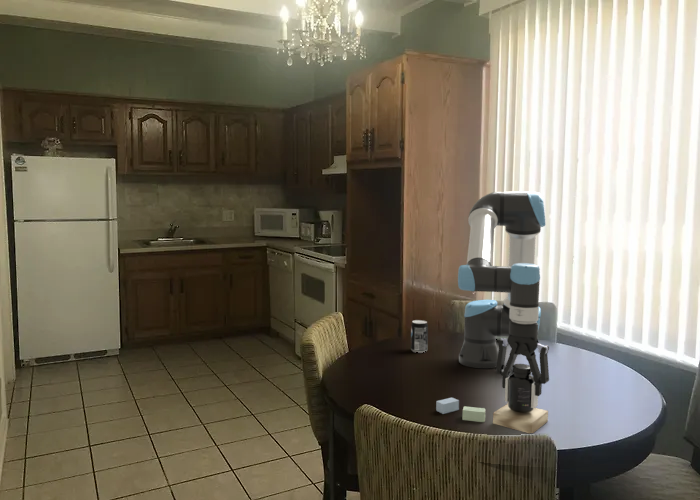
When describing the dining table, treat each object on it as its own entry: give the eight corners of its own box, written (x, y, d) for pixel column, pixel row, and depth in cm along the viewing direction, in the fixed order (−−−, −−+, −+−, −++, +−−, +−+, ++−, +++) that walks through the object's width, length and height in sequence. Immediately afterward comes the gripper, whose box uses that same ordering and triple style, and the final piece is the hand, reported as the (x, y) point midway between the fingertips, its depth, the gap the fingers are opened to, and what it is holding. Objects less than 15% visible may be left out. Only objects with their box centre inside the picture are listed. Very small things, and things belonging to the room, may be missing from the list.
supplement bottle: (504, 404, 160) (505, 362, 159) (527, 403, 161) (529, 362, 160) (513, 413, 153) (514, 370, 152) (537, 413, 154) (539, 369, 153)
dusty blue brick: (443, 414, 163) (443, 404, 163) (436, 411, 166) (436, 401, 166) (458, 410, 167) (458, 400, 166) (451, 407, 169) (452, 397, 169)
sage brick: (462, 420, 159) (462, 410, 159) (463, 416, 162) (463, 406, 162) (484, 422, 158) (484, 412, 157) (485, 418, 160) (485, 408, 160)
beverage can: (415, 348, 234) (416, 319, 233) (430, 350, 230) (430, 321, 229) (407, 351, 228) (408, 322, 227) (422, 354, 225) (422, 324, 223)
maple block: (492, 423, 157) (493, 412, 156) (510, 411, 165) (510, 401, 165) (531, 434, 150) (532, 423, 149) (547, 421, 158) (548, 410, 158)
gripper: (483, 318, 158) (481, 398, 160) (554, 328, 145) (551, 416, 148) (495, 313, 164) (493, 391, 166) (565, 323, 151) (562, 408, 153)
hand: (521, 403), depth 157 cm, fingers closed on supplement bottle, 7 cm apart
